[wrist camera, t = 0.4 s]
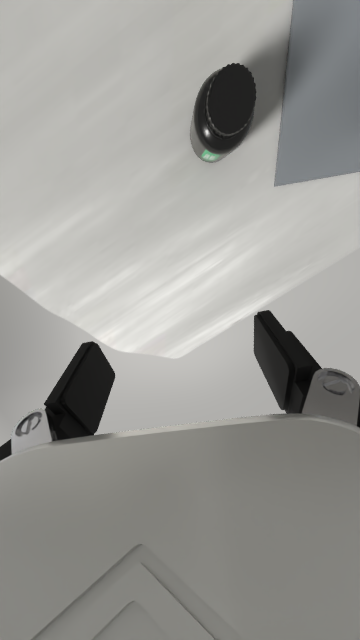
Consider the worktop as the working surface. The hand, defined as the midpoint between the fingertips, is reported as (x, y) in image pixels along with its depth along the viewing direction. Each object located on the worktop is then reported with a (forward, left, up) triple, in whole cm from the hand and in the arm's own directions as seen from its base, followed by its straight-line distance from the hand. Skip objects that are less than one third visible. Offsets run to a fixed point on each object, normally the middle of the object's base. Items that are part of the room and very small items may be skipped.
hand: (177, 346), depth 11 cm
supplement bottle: (-14, +8, -31) cm, 35 cm away
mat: (-16, +28, -31) cm, 44 cm away
